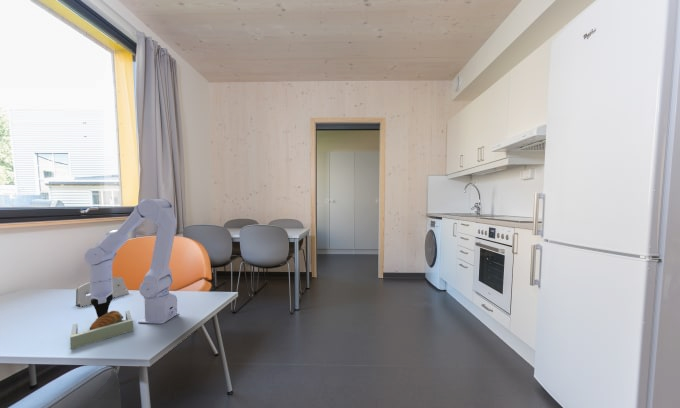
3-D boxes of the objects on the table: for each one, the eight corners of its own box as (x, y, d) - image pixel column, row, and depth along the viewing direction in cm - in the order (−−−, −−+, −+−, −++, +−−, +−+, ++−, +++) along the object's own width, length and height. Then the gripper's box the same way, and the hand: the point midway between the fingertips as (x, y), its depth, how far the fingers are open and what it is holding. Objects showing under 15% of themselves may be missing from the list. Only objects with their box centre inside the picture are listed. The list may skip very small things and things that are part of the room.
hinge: (79, 307, 99) (75, 283, 101) (75, 309, 101) (71, 285, 103) (129, 293, 114) (125, 272, 116) (125, 295, 116) (121, 274, 118)
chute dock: (73, 333, 80) (72, 323, 80) (129, 318, 90) (129, 309, 90) (70, 349, 71) (70, 337, 71) (133, 330, 81) (132, 320, 81)
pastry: (106, 332, 80) (106, 321, 80) (81, 335, 79) (81, 323, 79) (124, 319, 89) (124, 308, 89) (103, 321, 88) (102, 311, 88)
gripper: (86, 278, 90) (86, 314, 90) (84, 287, 80) (85, 328, 80) (112, 273, 95) (112, 308, 95) (114, 282, 85) (115, 321, 85)
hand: (102, 317), depth 88 cm, fingers closed
